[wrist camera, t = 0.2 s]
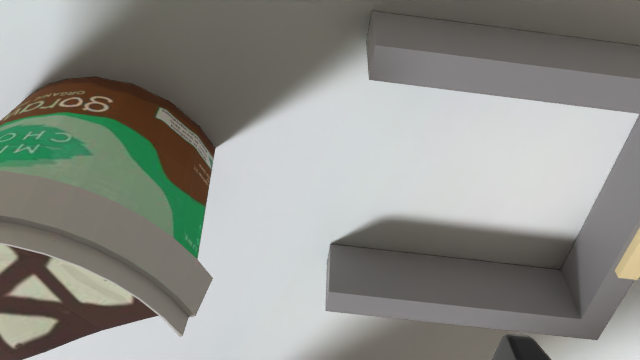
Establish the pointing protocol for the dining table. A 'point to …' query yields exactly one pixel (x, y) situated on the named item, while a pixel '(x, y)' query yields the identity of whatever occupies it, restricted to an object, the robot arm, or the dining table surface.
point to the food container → (98, 213)
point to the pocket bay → (488, 277)
